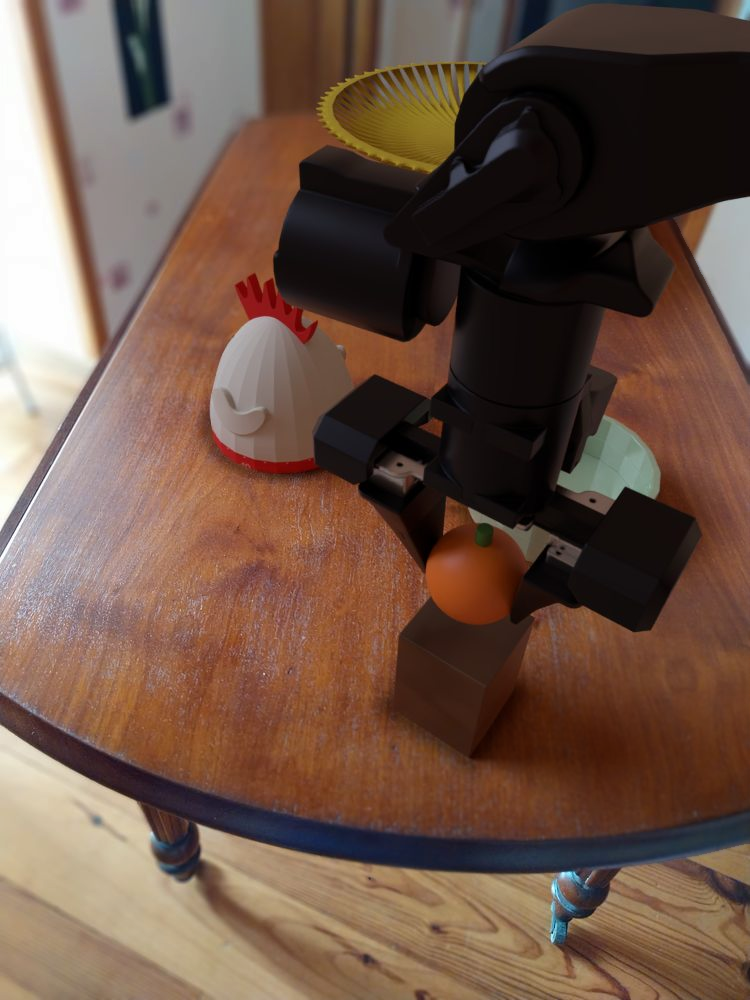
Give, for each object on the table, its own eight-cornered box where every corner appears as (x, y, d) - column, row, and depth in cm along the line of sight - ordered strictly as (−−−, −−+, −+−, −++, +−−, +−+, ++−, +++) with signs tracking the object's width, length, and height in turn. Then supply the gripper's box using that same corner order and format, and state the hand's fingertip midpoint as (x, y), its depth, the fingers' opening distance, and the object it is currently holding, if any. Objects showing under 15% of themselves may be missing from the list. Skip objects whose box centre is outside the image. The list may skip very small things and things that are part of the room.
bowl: (669, 490, 66) (687, 448, 63) (598, 602, 57) (615, 560, 54) (516, 423, 72) (525, 381, 69) (431, 515, 63) (436, 472, 60)
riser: (512, 693, 52) (535, 617, 45) (468, 760, 48) (486, 687, 42) (439, 649, 54) (451, 570, 48) (391, 710, 51) (398, 634, 44)
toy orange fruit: (535, 596, 44) (558, 520, 39) (488, 662, 41) (506, 589, 36) (454, 552, 46) (466, 476, 41) (403, 611, 43) (410, 536, 38)
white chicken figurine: (277, 365, 78) (266, 227, 67) (387, 415, 73) (393, 273, 62) (181, 436, 70) (151, 291, 59) (297, 498, 64) (286, 351, 54)
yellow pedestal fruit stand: (326, 165, 114) (324, 55, 104) (589, 172, 115) (614, 63, 104) (309, 305, 86) (303, 174, 75) (657, 314, 87) (701, 185, 76)
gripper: (795, 357, 33) (681, 581, 44) (433, 232, 40) (414, 451, 51) (713, 504, 26) (604, 723, 37) (299, 323, 33) (311, 551, 45)
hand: (473, 593), depth 43 cm, fingers closed on toy orange fruit, 5 cm apart
